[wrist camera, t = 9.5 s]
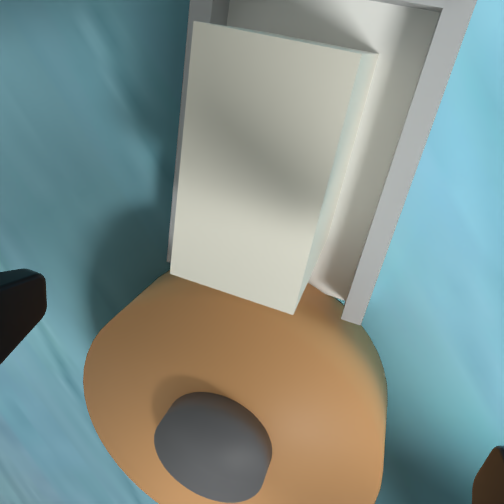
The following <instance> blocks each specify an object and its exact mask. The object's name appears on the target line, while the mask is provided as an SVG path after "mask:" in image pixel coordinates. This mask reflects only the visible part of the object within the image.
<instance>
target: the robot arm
mask: <svg viewBox="0 0 504 504" xmlns="http://www.w3.org/2000/svg"><path fill="white" fill-rule="evenodd" d="M46 308H47V299H46V281H45V278H44V276H43V275H42V274H40V273H37V272H35V271H32V270H29V269H17V270H11V271H5V272H0V364H1V363H2V362H3V361H4V360H5V359H6V358H7V356H8V355H9V354H10V353H11V352H12V351H13V350H14V349H15V348H16V346H17V345H18V344H19V343H20V342H21V341H22V340H23V339H24V338H25V337H26V335H27V334H28V333H29V332H30V331H31V330H32V329H33V328H34V327H35V325H36V324H37V323H38V322H39V321H40V320H41V319H42V317H43V316H44V314H45V312H46ZM472 504H504V446H496V447H495V448H494V449H493V450H492V451H491V453H490V454H489V456H488V457H487V459H486V460H485V462H484V464H483V465H482V467H481V468H480V470H479V472H478V473H477V475H476V477H475V479H474V483H473V489H472Z"/></svg>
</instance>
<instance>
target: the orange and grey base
mask: <svg viewBox="0 0 504 504" xmlns="http://www.w3.org/2000/svg"><path fill="white" fill-rule="evenodd" d="M476 2H477V0H190V5H189V17H188V28H187V39H186V50H185V62H184V73H183V84H182V95H181V107H180V118H179V129H178V140H177V151H176V163H175V174H174V185H173V196H172V208H171V219H170V230H169V241H168V253H167V262H169V263H171V256H172V245H173V235H174V224H175V213H176V203H177V192H178V181H179V171H180V160H181V149H182V139H183V128H184V117H185V107H186V96H187V85H188V75H189V64H190V53H191V43H192V32H193V21H198V22H205V23H211V24H218V25H224V26H231V27H238V28H244V29H251V30H257V31H264V32H270V33H275V34H280V35H285V36H290V37H295V38H300V39H306V40H311V41H316V42H321V43H326V44H331V45H336V46H341V47H347V48H352V49H357V50H362V51H367V52H372V53H377V54H379V56H378V59H377V63H376V67H375V70H374V74H373V77H372V81H371V84H370V88H369V92H368V95H367V99H366V102H365V106H364V109H363V113H362V117H361V120H360V124H359V127H358V131H357V134H356V138H355V142H354V145H353V149H352V152H351V156H350V159H349V163H348V167H347V170H346V174H345V177H344V181H343V184H342V188H341V192H340V195H339V199H338V202H337V206H336V209H335V213H334V217H333V220H332V224H331V227H330V231H329V234H328V238H327V241H326V243H325V245H324V247H323V249H322V252H321V254H320V256H319V258H318V261H317V263H316V265H315V267H314V270H313V272H312V274H311V276H310V279H309V281H308V283H307V285H306V288H305V290H304V292H303V294H302V296H301V299H300V301H299V303H298V305H297V308H296V310H295V312H294V314H293V315H291V314H288V313H285V312H282V311H279V310H276V309H273V308H270V307H267V306H264V305H261V304H258V303H255V302H252V301H249V300H246V299H243V298H240V297H238V296H235V295H232V294H229V293H226V292H223V291H220V290H217V289H214V288H211V287H208V286H205V285H202V284H199V283H196V282H193V281H190V280H187V279H184V278H181V277H178V276H175V275H172V274H170V270H169V271H167V272H166V273H165V274H163V275H162V276H160V277H159V278H158V279H156V280H155V281H154V282H153V283H152V284H151V285H150V286H149V287H147V288H146V289H145V290H144V291H143V292H142V293H141V294H140V295H138V296H137V297H136V298H135V299H134V300H133V301H132V302H131V303H129V304H128V305H127V306H126V307H125V308H124V309H123V310H122V311H120V312H119V313H118V314H117V315H116V316H115V317H114V318H113V319H111V320H110V321H109V322H108V323H107V324H106V325H105V326H104V327H103V328H102V329H101V330H100V332H99V333H98V335H97V336H96V337H95V339H94V340H93V342H92V344H91V347H90V349H89V351H88V353H87V357H86V361H85V366H84V377H83V385H84V396H85V400H86V404H87V409H88V412H89V415H90V418H91V420H92V423H93V425H94V428H95V430H96V432H97V434H98V436H99V438H100V439H101V441H102V443H103V444H104V446H105V448H106V449H107V451H108V452H109V454H110V455H111V456H112V458H113V459H114V460H115V462H116V463H117V464H118V466H119V467H120V468H121V469H122V470H123V471H124V472H125V474H126V475H127V476H128V477H129V478H130V479H131V480H132V481H133V482H134V483H135V484H136V485H137V486H138V487H139V488H140V489H141V490H143V491H144V492H145V493H146V494H147V495H149V496H150V497H151V498H152V499H153V500H155V501H156V502H157V503H159V504H374V503H375V501H376V499H377V496H378V493H379V491H380V488H381V481H382V475H383V463H384V448H385V432H386V417H387V401H388V400H387V383H386V378H385V373H384V368H383V365H382V363H381V360H380V357H379V354H378V352H377V350H376V348H375V346H374V345H373V343H372V341H371V339H370V337H369V335H368V334H367V333H366V331H365V330H364V328H363V327H362V326H361V323H362V320H363V317H364V314H365V311H366V309H367V306H368V303H369V300H370V297H371V295H372V292H373V289H374V286H375V284H376V281H377V278H378V275H379V272H380V270H381V267H382V264H383V261H384V258H385V256H386V253H387V250H388V247H389V244H390V242H391V239H392V236H393V233H394V231H395V228H396V225H397V222H398V219H399V217H400V214H401V211H402V208H403V205H404V203H405V200H406V197H407V194H408V191H409V189H410V186H411V183H412V180H413V177H414V175H415V172H416V169H417V166H418V164H419V161H420V158H421V155H422V152H423V150H424V147H425V144H426V141H427V138H428V136H429V133H430V130H431V127H432V124H433V122H434V119H435V116H436V113H437V110H438V108H439V105H440V102H441V99H442V97H443V94H444V91H445V88H446V85H447V83H448V80H449V77H450V74H451V71H452V69H453V66H454V63H455V60H456V57H457V55H458V52H459V49H460V46H461V43H462V41H463V38H464V35H465V32H466V30H467V27H468V24H469V21H470V18H471V16H472V13H473V10H474V7H475V4H476ZM334 297H336V298H339V299H342V300H345V305H343V304H342V303H340V302H339V301H338V300H337V299H336V298H334Z"/></svg>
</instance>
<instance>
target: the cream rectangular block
mask: <svg viewBox="0 0 504 504" xmlns="http://www.w3.org/2000/svg"><path fill="white" fill-rule="evenodd" d="M378 56H379V54H377V53H372V52H367V51H362V50H357V49H352V48H347V47H341V46H336V45H331V44H326V43H321V42H316V41H311V40H306V39H300V38H295V37H290V36H285V35H280V34H275V33H270V32H264V31H257V30H251V29H244V28H238V27H231V26H224V25H218V24H211V23H205V22H198V21H193V32H192V43H191V53H190V64H189V75H188V85H187V96H186V107H185V117H184V128H183V139H182V149H181V160H180V171H179V181H178V192H177V203H176V213H175V224H174V235H173V245H172V256H171V267H170V274H172V275H175V276H178V277H181V278H184V279H187V280H190V281H193V282H196V283H199V284H202V285H205V286H208V287H211V288H214V289H217V290H220V291H223V292H226V293H229V294H232V295H235V296H238V297H240V298H243V299H246V300H249V301H252V302H255V303H258V304H261V305H264V306H267V307H270V308H273V309H276V310H279V311H282V312H285V313H288V314H291V315H293V314H294V312H295V310H296V308H297V305H298V303H299V301H300V299H301V296H302V294H303V292H304V290H305V288H306V285H307V283H308V281H309V279H310V276H311V274H312V272H313V270H314V267H315V265H316V263H317V261H318V258H319V256H320V254H321V252H322V249H323V247H324V245H325V243H326V241H327V238H328V234H329V231H330V227H331V224H332V220H333V217H334V213H335V209H336V206H337V202H338V199H339V195H340V192H341V188H342V184H343V181H344V177H345V174H346V170H347V167H348V163H349V159H350V156H351V152H352V149H353V145H354V142H355V138H356V134H357V131H358V127H359V124H360V120H361V117H362V113H363V109H364V106H365V102H366V99H367V95H368V92H369V88H370V84H371V81H372V77H373V74H374V70H375V67H376V63H377V59H378Z"/></svg>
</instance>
